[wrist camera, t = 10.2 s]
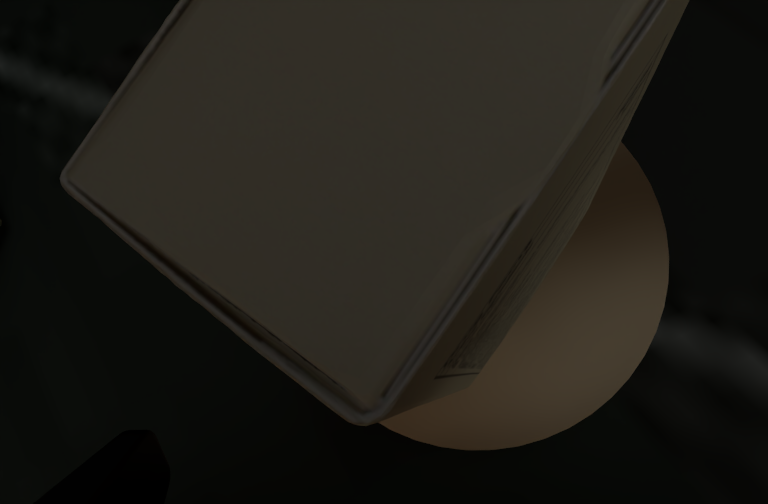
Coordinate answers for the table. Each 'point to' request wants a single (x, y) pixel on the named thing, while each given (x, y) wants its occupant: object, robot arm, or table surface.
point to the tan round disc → (566, 329)
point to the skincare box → (368, 172)
